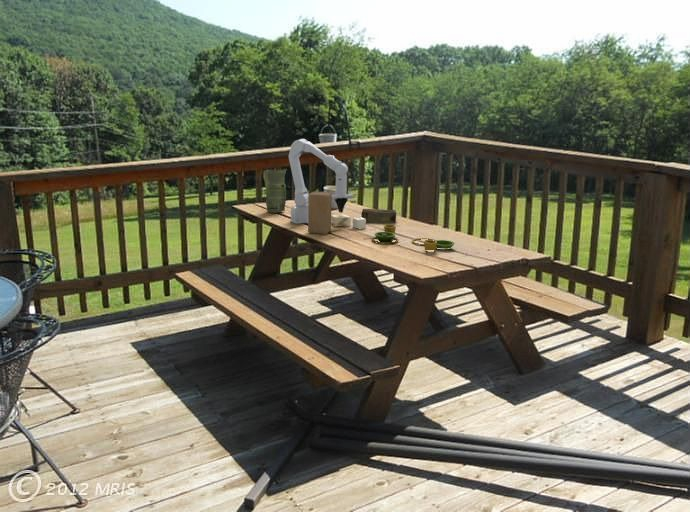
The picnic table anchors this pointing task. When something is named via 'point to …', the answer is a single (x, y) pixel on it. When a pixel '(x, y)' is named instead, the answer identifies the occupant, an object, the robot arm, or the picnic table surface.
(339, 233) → the picnic table surface
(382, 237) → the tableware set
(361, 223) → the numbered cube seven
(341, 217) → the plain block
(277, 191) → the green vase
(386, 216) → the beverage carton
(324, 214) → the block
